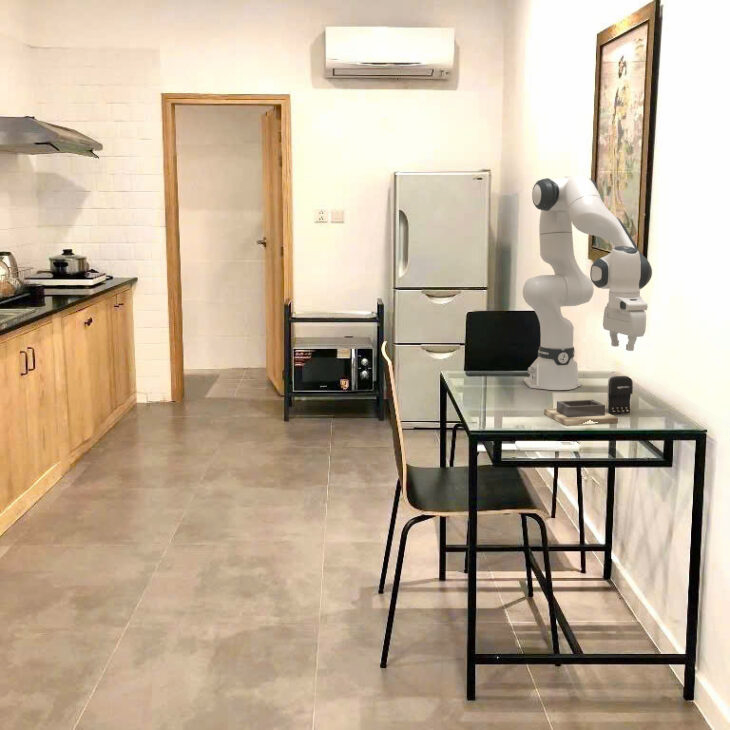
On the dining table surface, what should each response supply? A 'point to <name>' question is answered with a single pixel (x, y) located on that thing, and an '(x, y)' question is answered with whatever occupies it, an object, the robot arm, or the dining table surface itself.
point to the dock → (580, 412)
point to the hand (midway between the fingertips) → (622, 348)
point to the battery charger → (619, 394)
